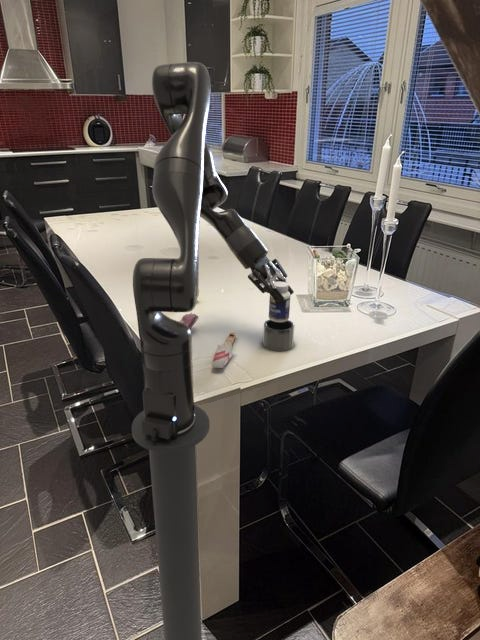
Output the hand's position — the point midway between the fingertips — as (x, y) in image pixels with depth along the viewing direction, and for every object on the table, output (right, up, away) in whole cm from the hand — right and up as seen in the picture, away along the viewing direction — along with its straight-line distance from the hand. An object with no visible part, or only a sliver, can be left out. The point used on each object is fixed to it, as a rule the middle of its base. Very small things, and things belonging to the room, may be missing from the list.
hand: (286, 298), depth 120 cm
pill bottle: (-2, -5, +3) cm, 7 cm away
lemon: (-28, 0, +35) cm, 45 cm away
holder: (-2, -12, +6) cm, 14 cm away
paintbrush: (-16, -15, 0) cm, 22 cm away
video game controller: (-28, -10, +12) cm, 32 cm away
